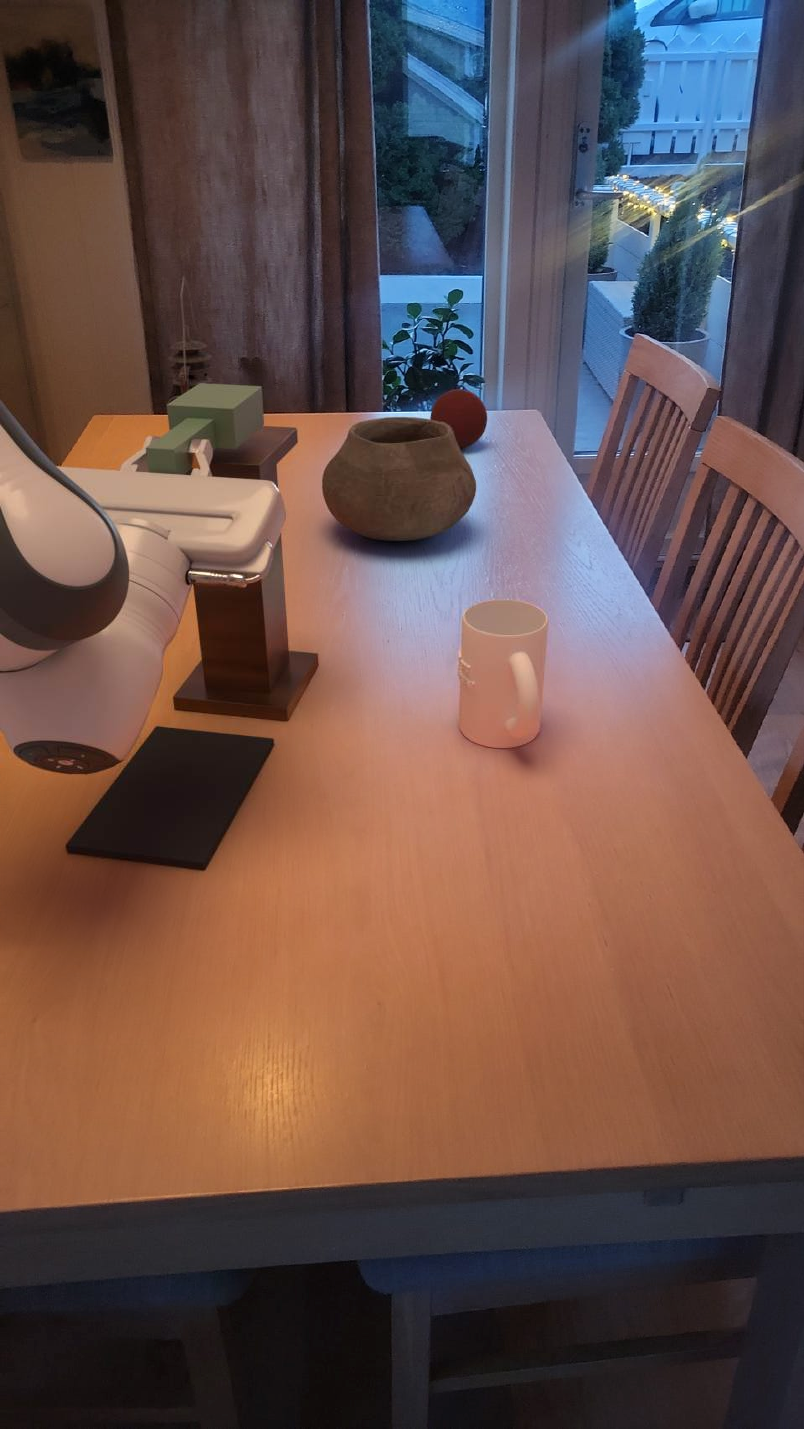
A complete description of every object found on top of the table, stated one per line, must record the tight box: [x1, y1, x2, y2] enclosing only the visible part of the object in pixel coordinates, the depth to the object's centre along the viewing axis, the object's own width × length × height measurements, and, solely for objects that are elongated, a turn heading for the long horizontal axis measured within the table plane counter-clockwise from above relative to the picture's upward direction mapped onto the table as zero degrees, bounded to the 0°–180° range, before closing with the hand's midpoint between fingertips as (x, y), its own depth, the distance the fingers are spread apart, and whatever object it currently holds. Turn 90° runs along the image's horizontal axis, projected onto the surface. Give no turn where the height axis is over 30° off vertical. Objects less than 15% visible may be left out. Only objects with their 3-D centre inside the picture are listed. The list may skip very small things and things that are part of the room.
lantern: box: [167, 276, 213, 404], centre depth 164 cm, size 12×11×30 cm
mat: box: [65, 725, 275, 871], centre depth 91 cm, size 19×12×1 cm, turn 169°
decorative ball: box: [429, 388, 488, 449], centre depth 180 cm, size 10×10×10 cm
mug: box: [457, 599, 549, 749], centre depth 97 cm, size 8×12×12 cm
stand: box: [172, 425, 320, 722], centre depth 102 cm, size 12×12×26 cm
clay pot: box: [321, 416, 477, 542], centre depth 143 cm, size 22×21×15 cm
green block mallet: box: [146, 383, 265, 475], centre depth 88 cm, size 17×6×4 cm, turn 169°
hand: (180, 443), depth 84 cm, fingers closed on green block mallet, 2 cm apart
